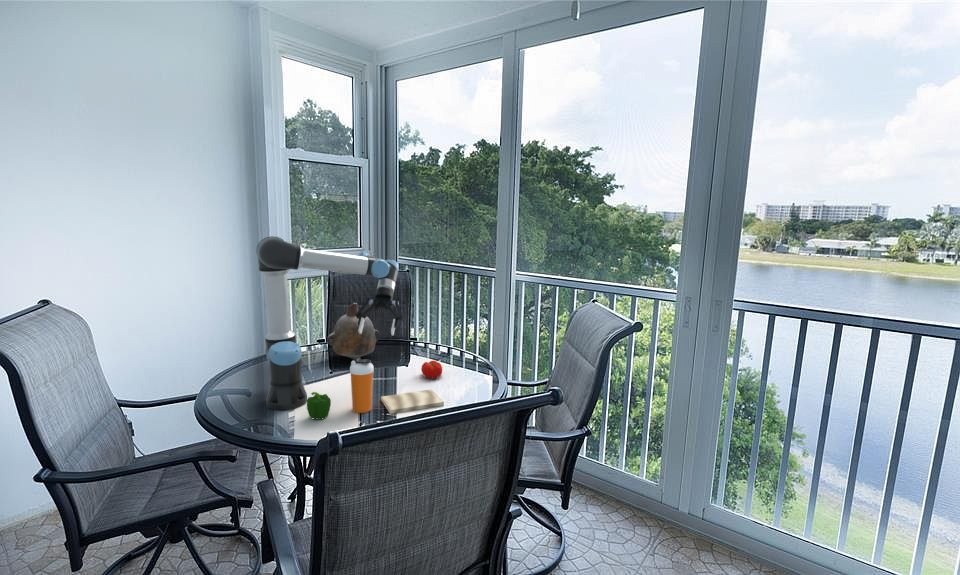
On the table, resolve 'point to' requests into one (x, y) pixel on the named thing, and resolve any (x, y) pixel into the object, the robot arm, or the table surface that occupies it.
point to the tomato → (432, 369)
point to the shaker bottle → (361, 384)
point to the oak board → (411, 401)
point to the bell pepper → (318, 405)
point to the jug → (353, 335)
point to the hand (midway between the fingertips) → (375, 333)
